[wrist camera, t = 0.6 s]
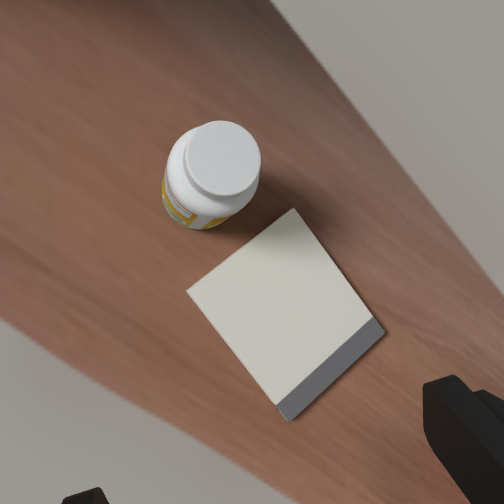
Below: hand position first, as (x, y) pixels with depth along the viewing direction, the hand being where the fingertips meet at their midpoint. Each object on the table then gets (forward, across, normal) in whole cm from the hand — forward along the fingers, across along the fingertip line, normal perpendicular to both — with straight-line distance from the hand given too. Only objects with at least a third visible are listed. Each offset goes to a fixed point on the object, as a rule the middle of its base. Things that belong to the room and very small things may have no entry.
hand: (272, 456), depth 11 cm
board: (+20, -5, +10) cm, 23 cm away
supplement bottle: (+24, -1, +1) cm, 24 cm away
